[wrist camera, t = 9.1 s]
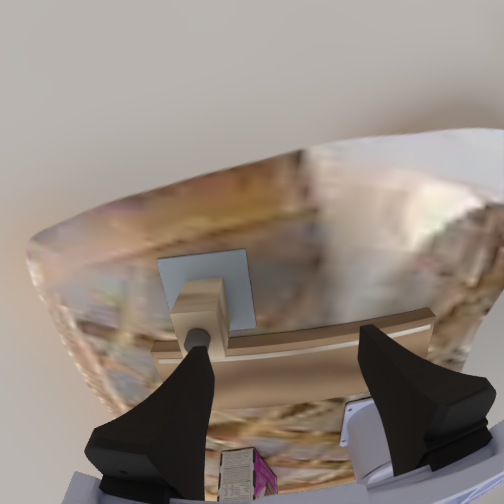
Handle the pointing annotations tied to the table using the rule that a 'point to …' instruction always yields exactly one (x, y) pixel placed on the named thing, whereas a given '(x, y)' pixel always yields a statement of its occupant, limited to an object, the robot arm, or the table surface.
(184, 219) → the table surface
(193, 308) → the block
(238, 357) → the walnut board
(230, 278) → the slate mat
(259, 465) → the candy bar box
